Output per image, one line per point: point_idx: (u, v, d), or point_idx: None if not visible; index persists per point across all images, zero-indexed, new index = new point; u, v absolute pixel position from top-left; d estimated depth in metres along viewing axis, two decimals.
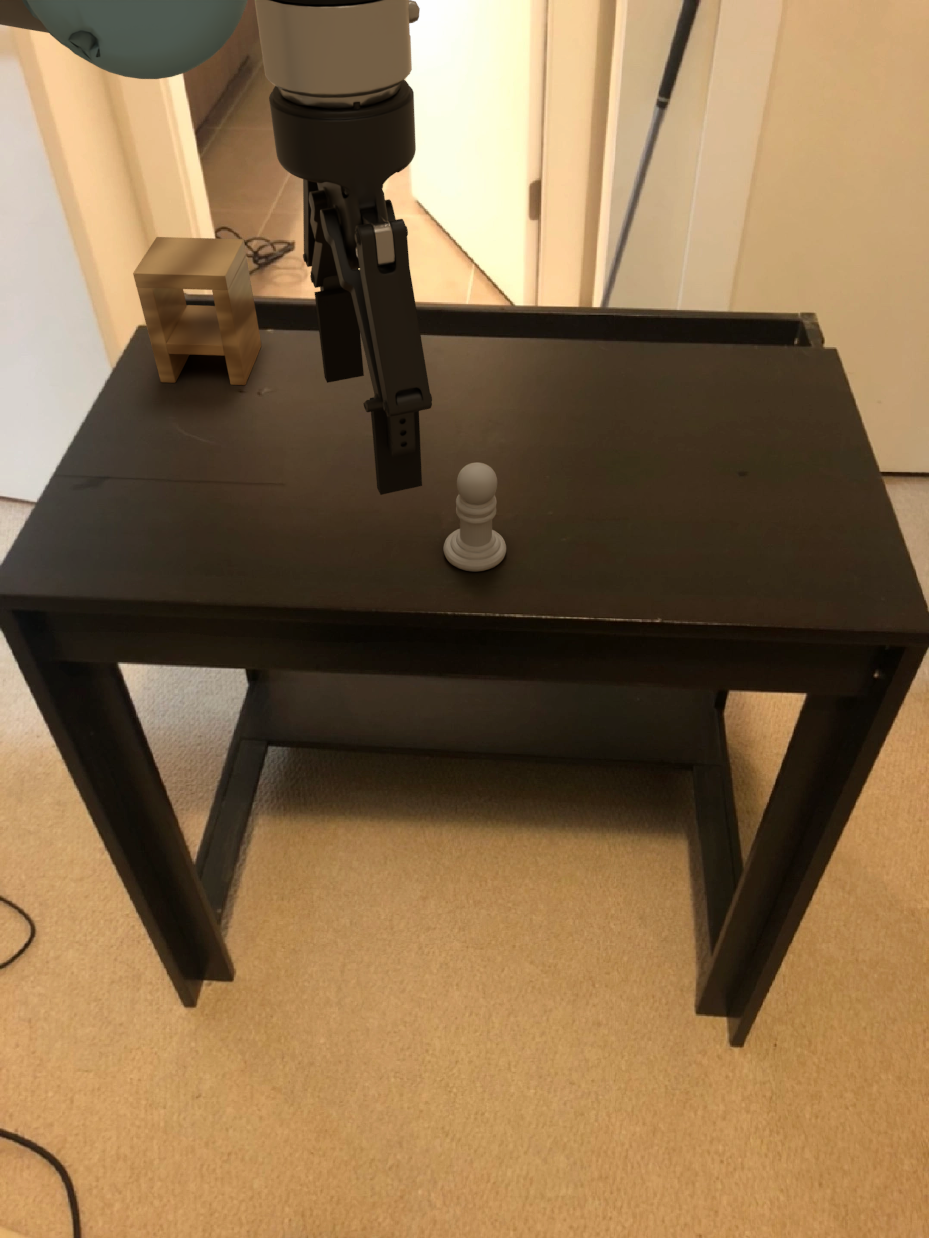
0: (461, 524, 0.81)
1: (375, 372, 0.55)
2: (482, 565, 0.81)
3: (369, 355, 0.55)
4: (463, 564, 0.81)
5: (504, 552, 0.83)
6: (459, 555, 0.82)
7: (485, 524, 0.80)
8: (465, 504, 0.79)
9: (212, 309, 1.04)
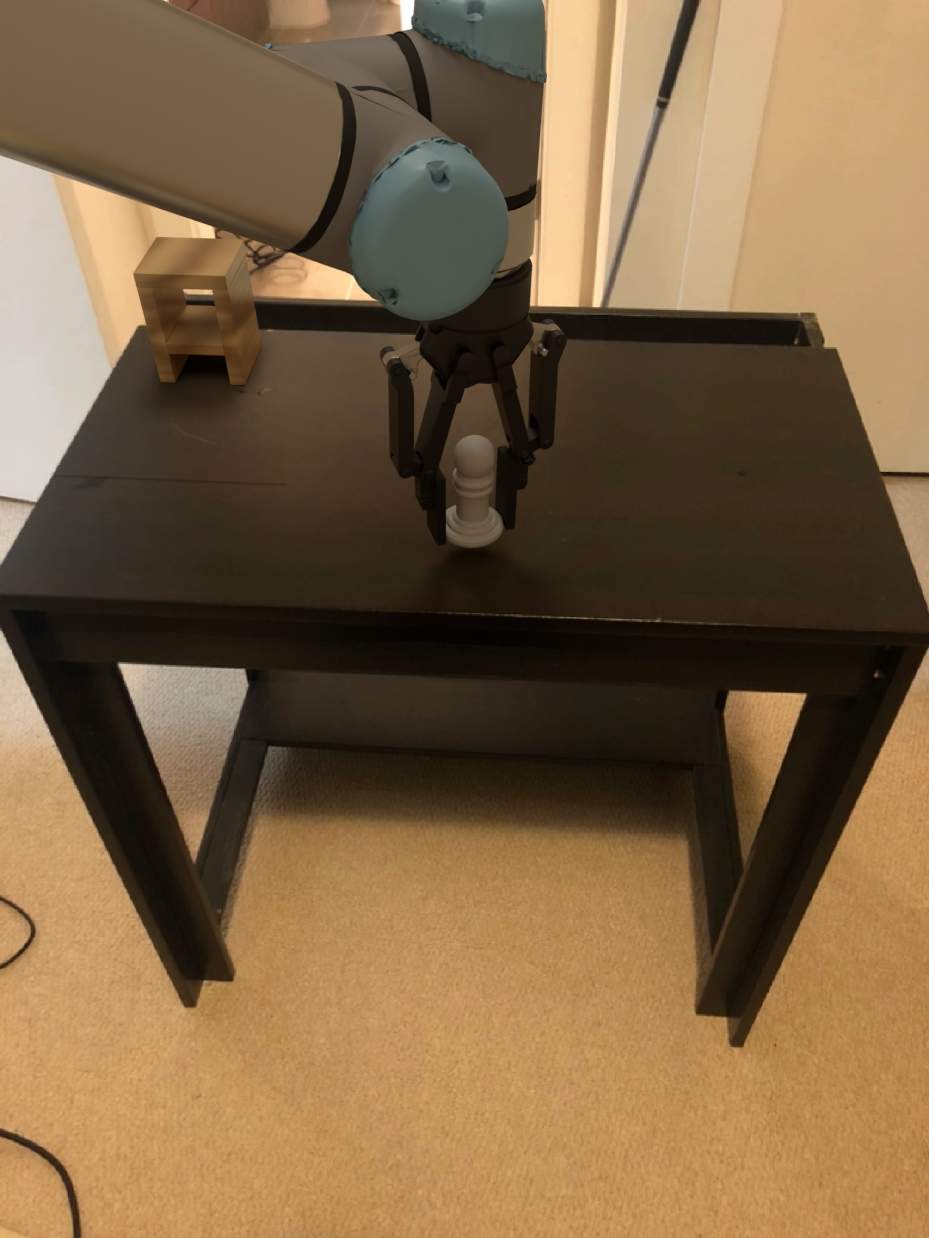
0: (457, 499, 0.79)
1: (528, 437, 0.76)
2: (478, 541, 0.79)
3: (523, 429, 0.75)
4: (459, 540, 0.79)
5: (501, 529, 0.81)
6: (455, 531, 0.80)
7: (482, 499, 0.78)
8: (462, 478, 0.77)
9: (212, 309, 1.04)
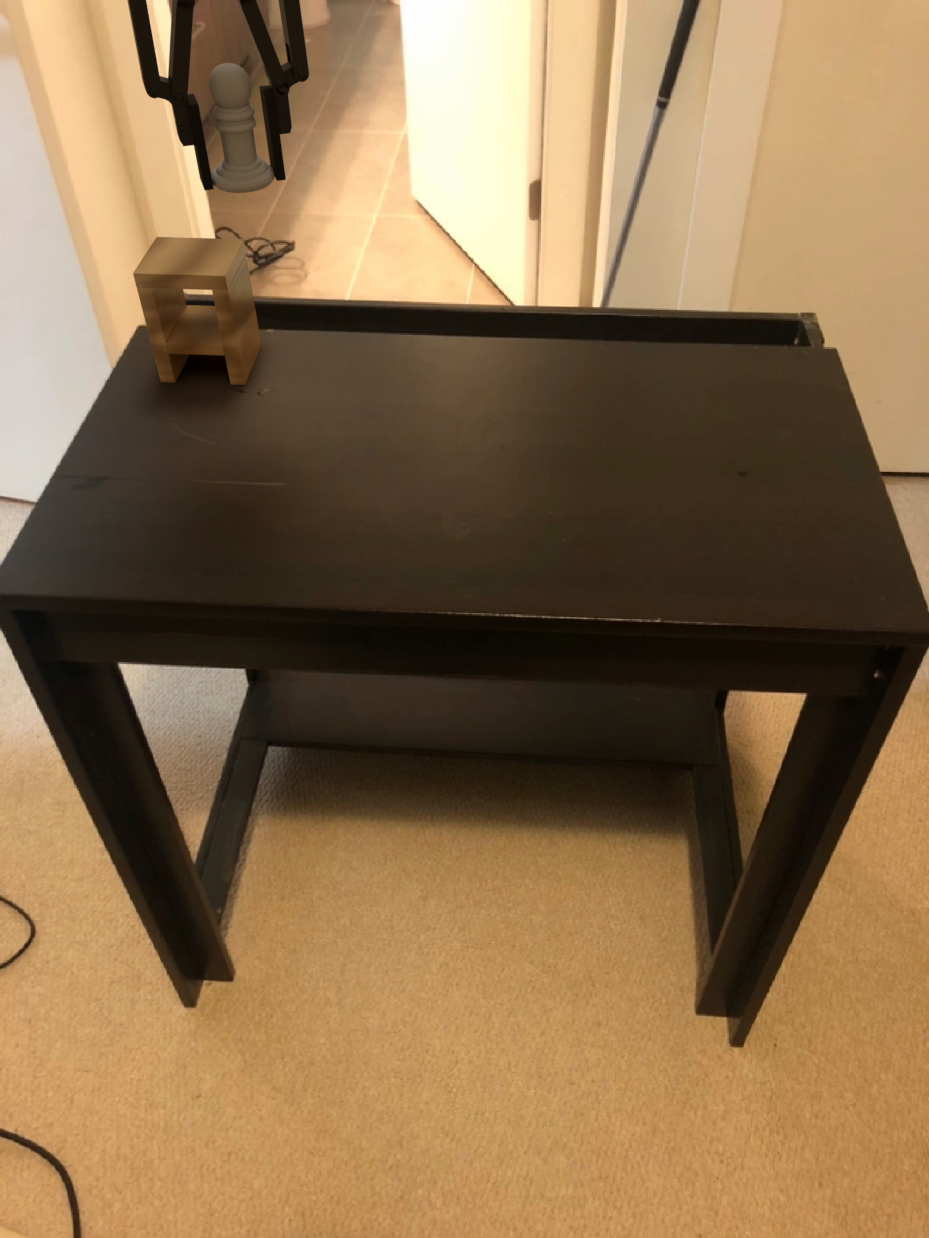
0: (221, 139, 0.80)
1: None
2: (244, 184, 0.80)
3: (273, 51, 0.76)
4: (225, 183, 0.80)
5: (270, 177, 0.82)
6: (222, 175, 0.81)
7: (243, 136, 0.79)
8: (219, 109, 0.78)
9: (212, 309, 1.04)
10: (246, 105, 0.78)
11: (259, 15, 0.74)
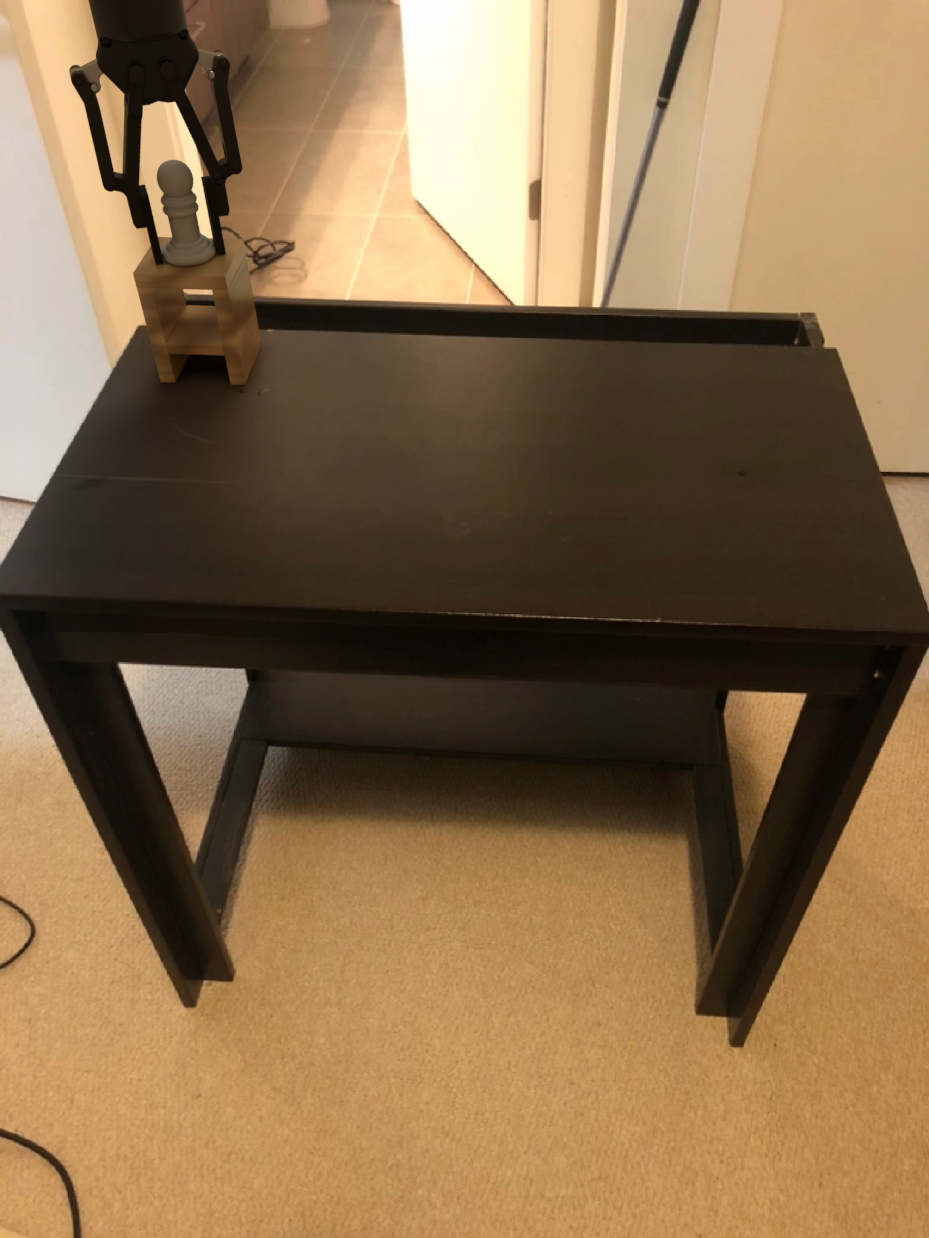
0: (169, 222, 0.94)
1: None
2: (189, 259, 0.94)
3: (210, 151, 0.90)
4: (173, 258, 0.94)
5: (212, 252, 0.96)
6: (170, 251, 0.95)
7: (187, 219, 0.93)
8: (166, 198, 0.92)
9: (212, 309, 1.04)
10: (189, 194, 0.92)
11: (197, 123, 0.88)
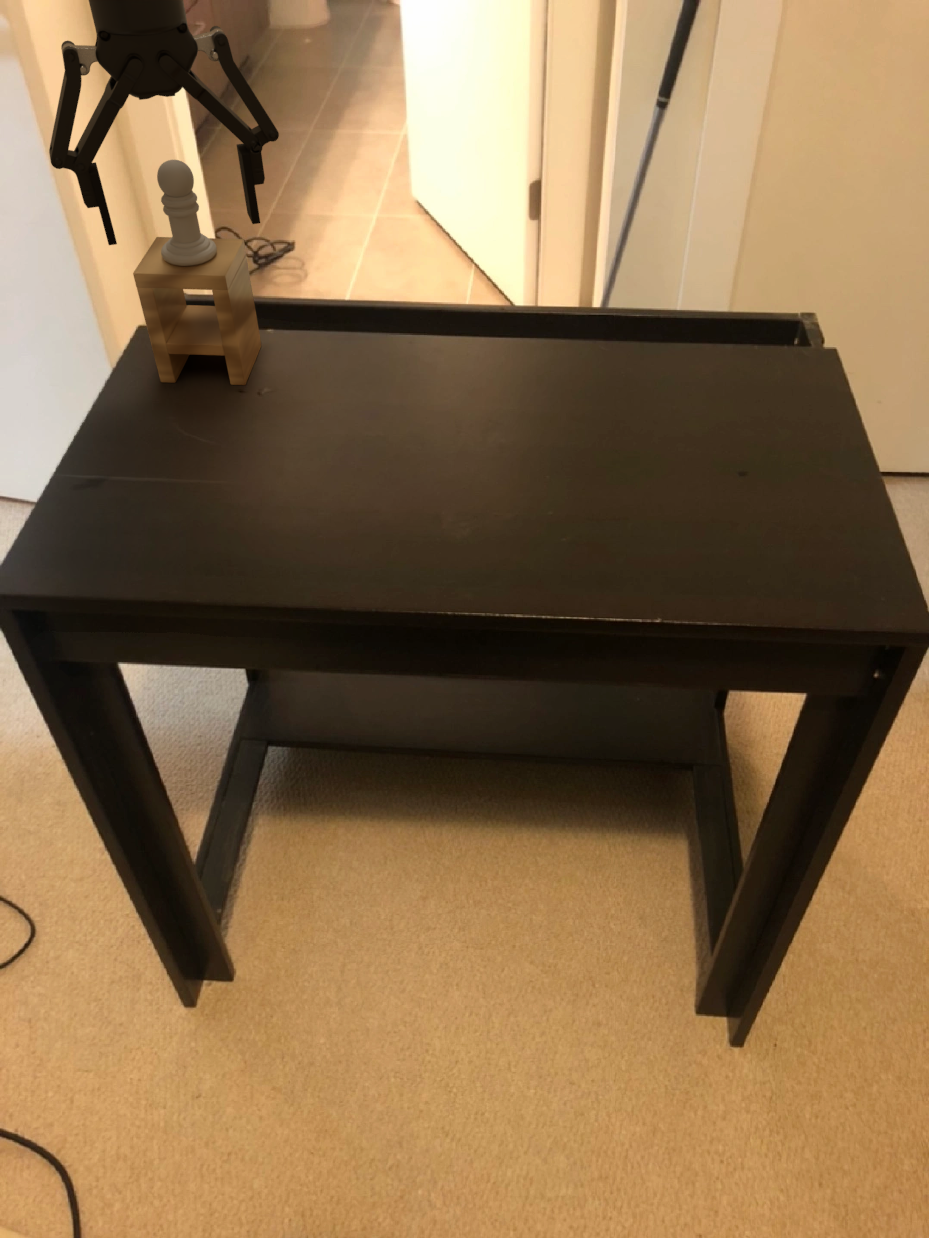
0: None
1: (246, 128, 0.90)
2: (189, 259, 0.94)
3: (237, 122, 0.89)
4: (173, 258, 0.94)
5: (212, 252, 0.96)
6: (170, 251, 0.95)
7: (188, 219, 0.93)
8: (166, 198, 0.92)
9: (212, 309, 1.04)
10: (189, 194, 0.92)
11: (214, 100, 0.87)
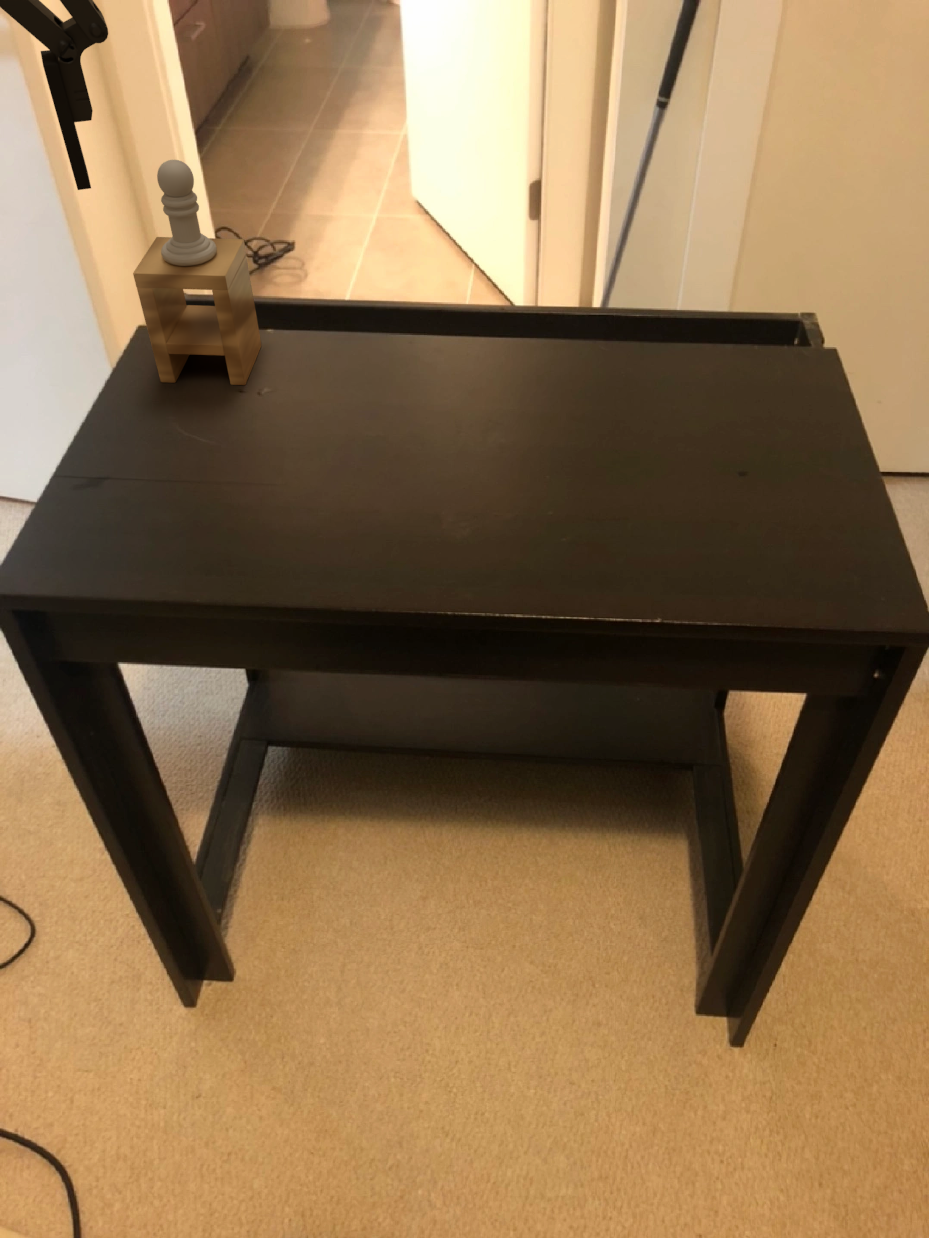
0: None
1: (47, 17, 0.51)
2: (189, 259, 0.94)
3: (27, 4, 0.50)
4: (173, 258, 0.94)
5: (212, 252, 0.96)
6: (170, 251, 0.95)
7: (188, 219, 0.93)
8: (166, 198, 0.92)
9: (212, 309, 1.04)
10: (189, 194, 0.92)
11: None
